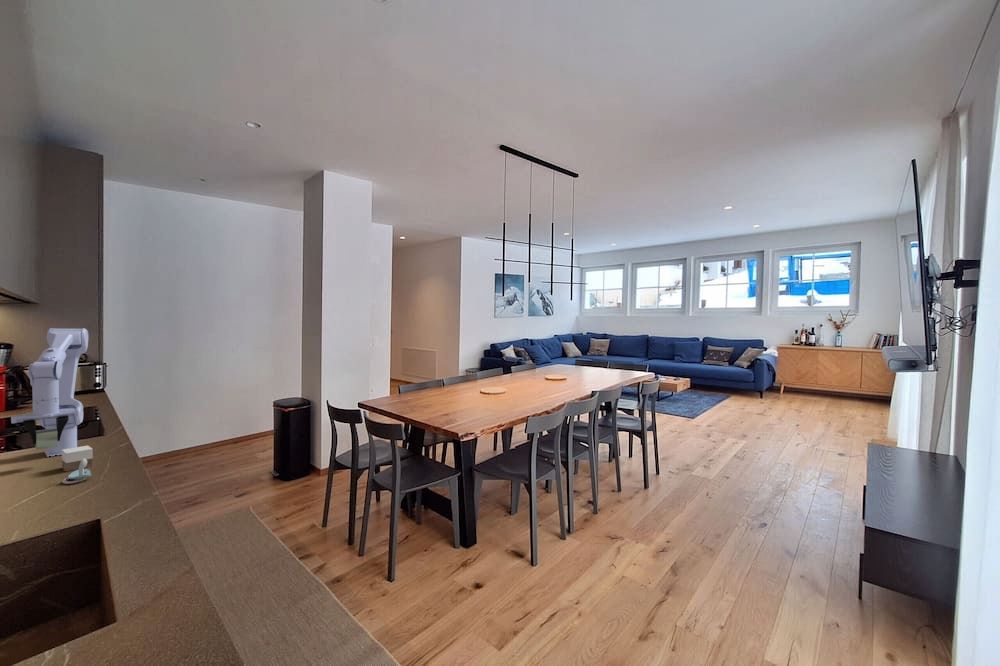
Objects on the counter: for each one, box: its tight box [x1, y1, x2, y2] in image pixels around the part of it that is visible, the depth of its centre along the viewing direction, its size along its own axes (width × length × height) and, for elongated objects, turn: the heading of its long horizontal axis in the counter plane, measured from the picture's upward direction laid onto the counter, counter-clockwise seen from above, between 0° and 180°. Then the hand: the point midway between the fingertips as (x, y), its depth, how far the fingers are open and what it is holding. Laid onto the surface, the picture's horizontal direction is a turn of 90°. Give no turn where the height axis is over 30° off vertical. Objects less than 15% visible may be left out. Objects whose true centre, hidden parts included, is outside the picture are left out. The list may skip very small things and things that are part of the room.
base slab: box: [61, 458, 93, 472], centre depth 134 cm, size 6×6×3 cm
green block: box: [34, 429, 58, 451], centre depth 135 cm, size 4×4×5 cm
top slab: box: [61, 445, 94, 463], centre depth 134 cm, size 6×6×3 cm
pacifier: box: [61, 458, 92, 485], centre depth 124 cm, size 7×6×6 cm
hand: (46, 442), depth 135 cm, fingers closed on green block, 4 cm apart
